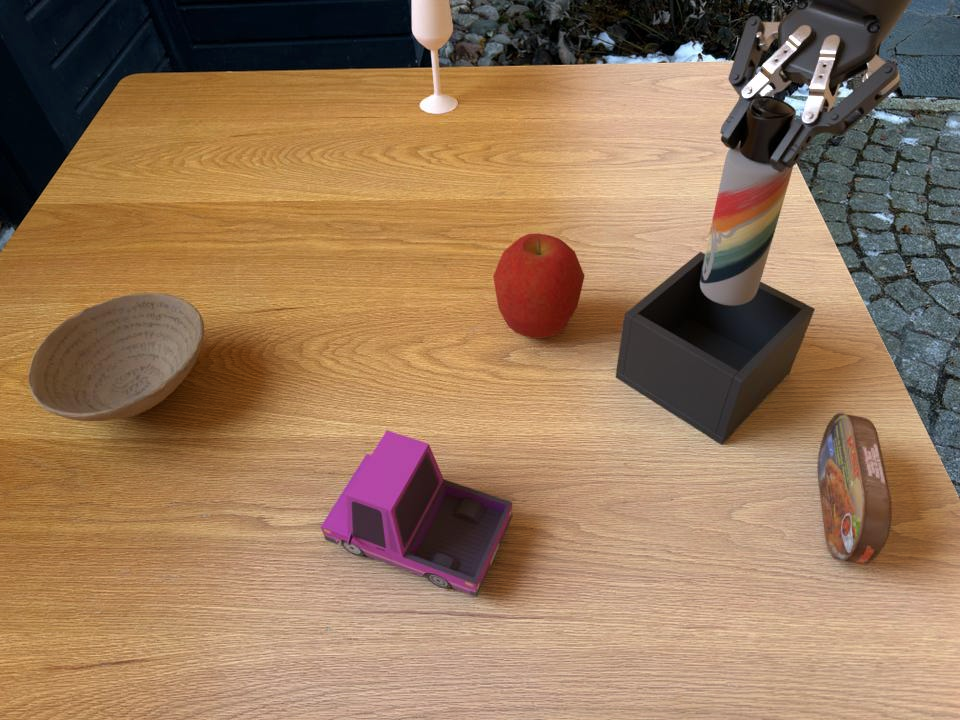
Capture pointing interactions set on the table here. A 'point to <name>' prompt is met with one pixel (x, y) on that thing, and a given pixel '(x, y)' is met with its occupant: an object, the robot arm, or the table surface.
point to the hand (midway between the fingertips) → (751, 155)
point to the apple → (538, 285)
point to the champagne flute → (433, 46)
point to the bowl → (117, 357)
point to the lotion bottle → (747, 206)
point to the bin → (709, 350)
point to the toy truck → (418, 517)
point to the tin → (853, 490)
